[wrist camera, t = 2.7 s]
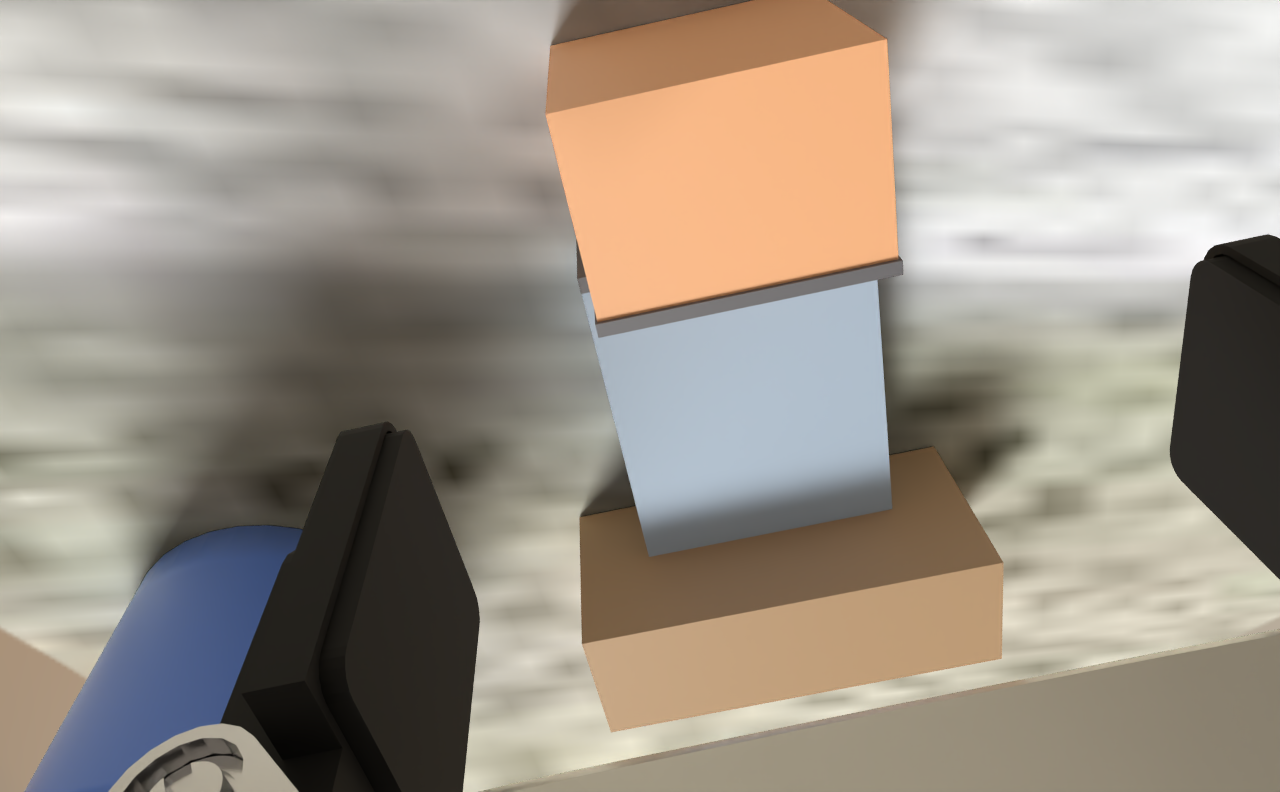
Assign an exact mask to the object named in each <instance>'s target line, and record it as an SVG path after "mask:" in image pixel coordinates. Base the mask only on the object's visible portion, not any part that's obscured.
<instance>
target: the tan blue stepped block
mask: <svg viewBox="0 0 1280 792" xmlns="http://www.w3.org/2000/svg"><path fill="white" fill-rule="evenodd" d="M576 244H577V279H578V283H579V287H580V291H581V294H582V297H583V301H584V305H585V309H586V313H587V317H588V321H589V325H590V328H591V332H592V336H593V340H594V344H595V348H596V352H597V356H598V360H599V364H600V367H601V371H602V375H603V379H604V383H605V387H606V391H607V395H608V399H609V403H610V406H611V410H612V414H613V418H614V422H615V426H616V430H617V434H618V438H619V442H620V446H621V449H622V453H623V457H624V461H625V465H626V469H627V473H628V477H629V481H630V485H631V488H632V492H633V496H634V500H635V504H636V506H633V507H628V508H623V509H618V510H613V511H608V512H603V513H598V514H593V515H588V516H583V517H580V565H581V616H582V645H583V648H584V651H585V655H586V658H587V661H588V664H589V667H590V670H591V673H592V676H593V679H594V682H595V685H596V688H597V691H598V694H599V697H600V700H601V703H602V706H603V709H604V712H605V715H606V718H607V721H608V724H609V727H610V730H611V732H615V731H620V730H626V729H631V728H636V727H642V726H647V725H652V724H657V723H663V722H668V721H673V720H679V719H684V718H689V717H695V716H700V715H705V714H710V713H716V712H721V711H726V710H732V709H737V708H742V707H748V706H753V705H758V704H763V703H769V702H774V701H779V700H785V699H790V698H795V697H801V696H806V695H811V694H816V693H822V692H827V691H832V690H838V689H843V688H848V687H854V686H859V685H864V684H869V683H875V682H880V681H885V680H891V679H896V678H901V677H907V676H912V675H917V674H922V673H928V672H933V671H938V670H944V669H949V668H954V667H960V666H965V665H970V664H975V663H981V662H986V661H991V660H997V659H1002V609H1003V561H1002V560H1001V558H1000V556H999V555H998V553H997V551H996V550H995V548H994V546H993V544H992V543H991V541H990V539H989V538H988V536H987V534H986V533H985V531H984V529H983V528H982V526H981V524H980V523H979V521H978V519H977V518H976V516H975V514H974V513H973V511H972V509H971V508H970V506H969V504H968V503H967V501H966V499H965V498H964V496H963V494H962V493H961V491H960V489H959V488H958V486H957V484H956V483H955V481H954V479H953V477H952V476H951V474H950V472H949V471H948V469H947V467H946V466H945V464H944V462H943V461H942V459H941V457H940V456H939V454H938V452H937V451H936V449H935V447H929V448H924V449H919V450H914V451H909V452H904V453H899V454H894V455H889V449H888V434H887V418H886V403H885V388H884V372H883V357H882V342H881V327H880V311H879V296H878V281H877V280H875V281H870V282H865V283H860V284H855V285H851V286H846V287H841V288H836V289H831V290H827V291H822V292H817V293H812V294H807V295H803V296H798V297H793V298H788V299H783V300H779V301H774V302H769V303H764V304H759V305H755V306H750V307H745V308H740V309H735V310H731V311H726V312H721V313H716V314H711V315H707V316H702V317H697V318H692V319H687V320H683V321H678V322H673V323H668V324H664V325H659V326H654V327H649V328H644V329H640V330H635V331H630V332H625V333H620V334H616V335H611V336H606V337H601V338H598V334H597V330H596V326H595V313H594V306H593V302H592V298H591V294H590V290H589V286H588V282H587V278H586V274H585V270H584V266H583V262H582V258H581V254H580V250H579V246H578V242H577V238H576Z"/></svg>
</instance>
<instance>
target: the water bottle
mask: <svg viewBox="0 0 1280 792" xmlns="http://www.w3.org/2000/svg"><path fill="white" fill-rule="evenodd" d="M302 531H303V530H302V529H296V528H287V527H279V526H270V525H264V526H238V527H232V528H227V529H222V530H217V531H212V532H208V533H206V534H203V535H200V536H198V537H195V538H193V539H190V540H187V541H185V542H183V543H182V544H180V545H178V546H177V547H175V548H174V549H172V550H171V551H169V552H167V553H166V554H164V555H163V556H162V557H161V558H160V559H159V560H158V561H157V562H156V563H155V564H154V565H153V567H152V568H151V569H150V570H149V571H148V572H147V574H146V576H145V577H144V579H143V581H142V583H141V585H140V586H139V588H138V590H137V592H136V593H135V595H134V597H133V599H132V601H131V602H130V604H129V606H128V608H127V609H126V611H125V613H124V615H123V616H122V618H121V620H120V622H119V624H118V625H117V627H116V629H115V631H114V632H113V634H112V636H111V638H110V639H109V641H108V643H107V645H106V647H105V648H104V650H103V652H102V654H101V655H100V657H99V659H98V661H97V663H96V664H95V666H94V668H93V670H92V671H91V673H90V675H89V677H88V678H87V680H86V682H85V684H84V686H83V687H82V689H81V691H80V693H79V695H78V696H77V698H76V700H75V702H74V703H73V705H72V707H71V709H70V710H69V712H68V714H67V716H66V718H65V719H64V721H63V723H62V725H61V726H60V728H59V730H58V732H57V734H56V735H55V737H54V739H53V741H52V743H51V744H50V746H49V748H48V750H47V752H46V754H45V755H44V757H43V759H42V761H41V763H40V764H39V766H38V768H37V770H36V772H35V773H34V775H33V777H32V779H31V781H30V783H29V784H28V786H27V788H26V790H25V791H24V792H108V791H109V790H110V789H111V788H112V787H113V785H114V784H115V783H116V782H117V781H118V780H119V778H120V777H121V776H122V775H123V774H124V773H125V771H126V770H127V769H128V768H129V767H131V766H132V765H133V764H134V763H136V762H137V761H138V760H139V759H140V758H142V757H143V756H144V755H145V754H146V753H148V752H149V751H150V750H152V749H153V748H155V747H157V746H158V745H160V744H162V743H163V742H165V741H167V740H169V739H170V738H172V737H174V736H175V735H178V734H181V733H184V732H186V731H189V730H192V729H194V728H197V727H200V726H207V725H215V724H220V722H221V719H222V717H223V714H224V712H225V709H226V707H227V704H228V701H229V699H230V696H231V694H232V691H233V688H234V686H235V683H236V681H237V678H238V676H239V673H240V670H241V668H242V665H243V663H244V660H245V658H246V655H247V652H248V650H249V647H250V645H251V642H252V640H253V637H254V634H255V632H256V629H257V627H258V624H259V622H260V619H261V616H262V614H263V611H264V609H265V606H266V604H267V601H268V598H269V596H270V593H271V591H272V588H273V585H274V583H275V580H276V578H277V575H278V573H279V570H280V567H281V565H282V563H283V561H284V560H285V558H286V556H287V555H288V554H289V553H291V552H293V551H294V550H296V547H297V544H298V542H299V539H300V536H301V534H302Z"/></svg>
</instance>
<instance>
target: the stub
mask: <svg viewBox="0 0 1280 792" xmlns="http://www.w3.org/2000/svg"><path fill="white" fill-rule="evenodd" d="M545 115H546V119H547V122H548V126H549V130H550V134H551V138H552V142H553V146H554V150H555V154H556V158H557V162H558V166H559V170H560V174H561V178H562V182H563V186H564V190H565V194H566V198H567V202H568V206H569V210H570V214H571V218H572V222H573V226H574V230H575V234H576V238H577V242H578V246H579V250H580V254H581V258H582V262H583V266H584V270H585V274H586V278H587V282H588V286H589V290H590V294H591V298H592V302H593V306H594V313H595V326H596V330H597V334H598V338H601V337H606V336H611V335H616V334H620V333H625V332H630V331H635V330H640V329H644V328H649V327H654V326H659V325H664V324H668V323H673V322H678V321H683V320H687V319H692V318H697V317H702V316H707V315H711V314H716V313H721V312H726V311H731V310H735V309H740V308H745V307H750V306H755V305H759V304H764V303H769V302H774V301H779V300H783V299H788V298H793V297H798V296H803V295H807V294H812V293H817V292H822V291H827V290H831V289H836V288H841V287H846V286H851V285H855V284H860V283H865V282H870V281H875V280H879V279H884V278H889V277H894V276H899V275H903V260H902V259H901V258H900V257H899V255H898V240H897V221H896V201H895V182H894V162H893V143H892V123H891V104H890V84H889V65H888V45H887V39H886V38H885V37H883V36H882V35H880V34H879V33H877V32H876V31H874V30H872V29H871V28H869V27H868V26H866V25H865V24H863V23H862V22H860V21H859V20H857V19H856V18H854V17H852V16H851V15H849V14H848V13H846V12H845V11H843V10H842V9H840V8H839V7H837V6H836V5H834V4H832V3H831V2H829V1H828V0H753V1H748V2H744V3H739V4H735V5H730V6H726V7H721V8H717V9H712V10H708V11H703V12H699V13H694V14H690V15H685V16H681V17H676V18H672V19H668V20H663V21H659V22H654V23H650V24H645V25H641V26H636V27H632V28H627V29H623V30H618V31H614V32H609V33H605V34H600V35H596V36H591V37H587V38H583V39H578V40H574V41H569V42H565V43H560V44H556V45H551V46H550V58H549V72H548V86H547V100H546V114H545Z"/></svg>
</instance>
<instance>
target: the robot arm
mask: <svg viewBox="0 0 1280 792" xmlns="http://www.w3.org/2000/svg"><path fill="white" fill-rule="evenodd" d="M1170 458H1171V463H1172V466H1173V468H1174V471H1175V472H1176V474H1177V476H1178V477H1179V479H1180V480H1181V481H1182V482H1183V483H1184V484H1185V485H1186V486H1187V487H1188V488H1189V489H1190V490H1191V491H1192V492H1193V493H1194V494H1195V495H1196V496H1197V497H1198V498H1199V499H1200V500H1201V501H1202V502H1203V503H1204V504H1205V505H1206V506H1207V507H1208V508H1209V509H1210V510H1211V511H1212V512H1213V513H1214V514H1215V515H1216V516H1217V517H1218V518H1219V519H1220V520H1221V521H1222V522H1223V523H1224V524H1225V525H1226V526H1227V527H1228V528H1229V529H1230V530H1231V531H1232V532H1233V533H1234V534H1235V535H1236V536H1237V537H1238V538H1239V539H1240V540H1241V541H1242V542H1243V543H1244V544H1245V545H1246V546H1247V547H1248V548H1249V549H1250V550H1251V551H1252V552H1253V553H1254V554H1255V555H1256V556H1257V557H1258V558H1259V559H1260V560H1261V561H1262V562H1263V563H1264V564H1265V565H1266V566H1267V567H1268V568H1269V569H1270V570H1271V571H1272V572H1273V573H1274V574H1275V575H1276V576H1277V577H1278V578H1279V579H1280V239H1279V238H1278V237H1275V236H1272V235H1262V236H1257V237H1253V238H1248V239H1243V240H1238V241H1234V242H1229V243H1224V244H1220V245H1215V246H1214V247H1212V248H1211V249H1210V250H1209V251H1208V252H1207V254H1206V256H1205V258H1204V260H1203V261H1200V262H1198V263H1197V264H1196V265H1195V266H1194V268H1193V270H1192V274H1191V279H1190V288H1189V296H1188V304H1187V312H1186V321H1185V329H1184V337H1183V345H1182V353H1181V362H1180V370H1179V378H1178V386H1177V394H1176V403H1175V411H1174V419H1173V427H1172V435H1171V444H1170ZM479 623H480V617H479V607H478V602H477V597H476V594H475V591H474V589H473V586H472V584H471V581H470V579H469V576H468V573H467V571H466V568H465V566H464V563H463V561H462V558H461V556H460V553H459V551H458V548H457V546H456V543H455V540H454V538H453V535H452V533H451V530H450V528H449V525H448V523H447V520H446V518H445V515H444V512H443V510H442V507H441V505H440V502H439V500H438V497H437V495H436V492H435V490H434V487H433V485H432V482H431V479H430V477H429V474H428V472H427V469H426V467H425V464H424V462H423V459H422V457H421V454H420V451H419V449H418V446H417V444H416V441H415V439H414V437H413V435H412V434H411V432H410V431H408V430H404V431H399V432H397V431H396V429H395V428H394V426H393V425H392V424H391V423H389V422H384V423H380V424H375V425H370V426H365V427H361V428H356V429H351V430H347V431H343V432H341V433H340V434H339V436H338V438H337V441H336V443H335V446H334V449H333V451H332V454H331V457H330V459H329V462H328V465H327V467H326V470H325V473H324V475H323V478H322V481H321V483H320V486H319V489H318V491H317V494H316V497H315V499H314V502H313V504H312V507H311V510H310V512H309V515H308V518H307V520H306V523H305V526H304V528H303V531H302V534H301V536H300V539H299V542H298V544H297V547H296V550H294V551H293V552H291V553H289V554H288V555H287V556H286V558H285V560H284V561H283V563H282V565H281V567H280V570H279V573H278V575H277V578H276V580H275V583H274V585H273V588H272V591H271V593H270V596H269V598H268V601H267V604H266V606H265V609H264V611H263V614H262V616H261V619H260V622H259V624H258V627H257V629H256V632H255V634H254V637H253V640H252V642H251V645H250V647H249V650H248V652H247V655H246V658H245V660H244V663H243V665H242V668H241V670H240V673H239V676H238V678H237V681H236V683H235V686H234V688H233V691H232V694H231V696H230V699H229V701H228V704H227V707H226V709H225V712H224V714H223V717H222V719H221V722H220V724H215V725H207V726H200V727H197V728H194V729H192V730H189V731H186V732H184V733H181V734H178V735H175V736H174V737H172V738H170V739H169V740H167V741H165V742H163V743H162V744H160V745H158V746H157V747H155V748H153V749H152V750H150V751H149V752H148V753H146V754H145V755H144V756H143V757H142V758H140V759H139V760H138V761H137V762H136V763H134V764H133V765H132V766H131V767H129V768H128V769H127V770H126V771H125V773H124V774H123V775H122V776H121V777H120V778H119V780H118V781H117V782H116V783H115V784H114V785H113V787H112V788H111V789H110V790H109V791H108V792H463V782H464V773H465V763H466V753H467V743H468V733H469V723H470V713H471V703H472V693H473V683H474V674H475V664H476V654H477V644H478V634H479ZM480 792H1280V629H1277V630H1273V631H1267V632H1262V633H1257V634H1252V635H1247V636H1241V637H1236V638H1231V639H1226V640H1220V641H1215V642H1210V643H1205V644H1200V645H1194V646H1189V647H1184V648H1179V649H1174V650H1169V651H1164V652H1159V653H1153V654H1148V655H1143V656H1138V657H1133V658H1128V659H1123V660H1118V661H1113V662H1108V663H1103V664H1098V665H1093V666H1088V667H1083V668H1077V669H1072V670H1067V671H1062V672H1057V673H1052V674H1047V675H1042V676H1037V677H1032V678H1027V679H1022V680H1017V681H1012V682H1007V683H1002V684H997V685H992V686H987V687H982V688H977V689H972V690H967V691H962V692H957V693H952V694H947V695H942V696H937V697H932V698H927V699H922V700H917V701H911V702H906V703H901V704H896V705H891V706H886V707H881V708H876V709H871V710H866V711H862V712H857V713H852V714H847V715H842V716H837V717H832V718H827V719H822V720H818V721H813V722H808V723H803V724H798V725H793V726H788V727H783V728H778V729H773V730H769V731H764V732H759V733H754V734H749V735H744V736H739V737H734V738H729V739H724V740H720V741H715V742H710V743H705V744H700V745H695V746H690V747H685V748H680V749H676V750H671V751H666V752H661V753H656V754H651V755H646V756H641V757H636V758H631V759H627V760H622V761H617V762H612V763H607V764H603V765H598V766H593V767H588V768H583V769H579V770H574V771H569V772H564V773H560V774H555V775H550V776H545V777H540V778H536V779H531V780H526V781H521V782H517V783H513V784H509V785H505V786H501V787H496V788H492V789H488V790H484V791H480Z"/></svg>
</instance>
